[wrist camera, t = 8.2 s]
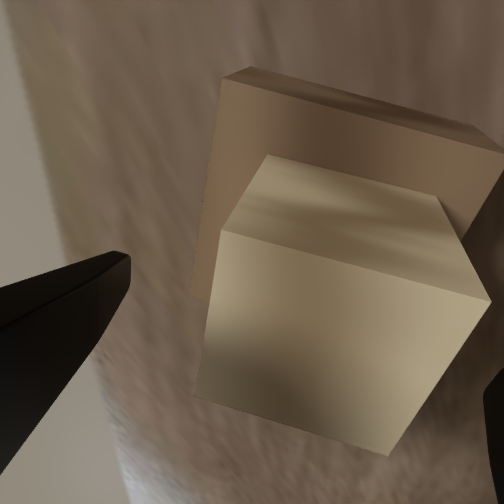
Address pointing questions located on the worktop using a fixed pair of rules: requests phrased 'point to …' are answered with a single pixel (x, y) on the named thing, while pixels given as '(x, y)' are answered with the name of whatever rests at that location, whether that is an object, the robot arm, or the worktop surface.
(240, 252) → the maple cube
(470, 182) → the walnut block
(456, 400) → the worktop surface
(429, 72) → the worktop surface
